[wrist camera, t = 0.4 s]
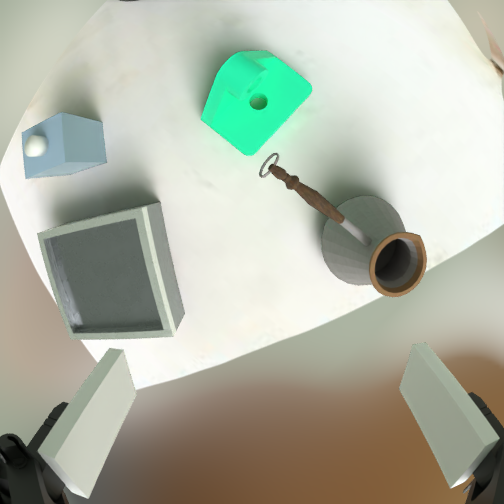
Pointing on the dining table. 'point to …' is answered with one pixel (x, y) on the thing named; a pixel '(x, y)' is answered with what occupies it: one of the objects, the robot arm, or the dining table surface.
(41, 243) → the open square box
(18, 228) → the dining table surface
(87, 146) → the blue bottle
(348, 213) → the coffee pot
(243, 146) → the camera mount
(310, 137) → the dining table surface
